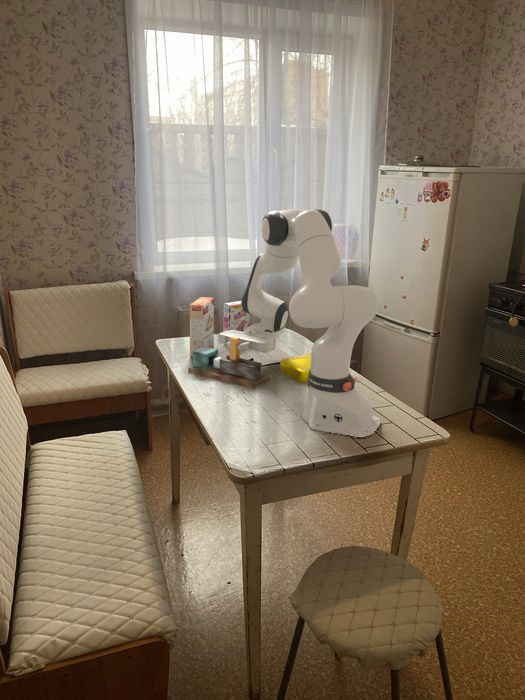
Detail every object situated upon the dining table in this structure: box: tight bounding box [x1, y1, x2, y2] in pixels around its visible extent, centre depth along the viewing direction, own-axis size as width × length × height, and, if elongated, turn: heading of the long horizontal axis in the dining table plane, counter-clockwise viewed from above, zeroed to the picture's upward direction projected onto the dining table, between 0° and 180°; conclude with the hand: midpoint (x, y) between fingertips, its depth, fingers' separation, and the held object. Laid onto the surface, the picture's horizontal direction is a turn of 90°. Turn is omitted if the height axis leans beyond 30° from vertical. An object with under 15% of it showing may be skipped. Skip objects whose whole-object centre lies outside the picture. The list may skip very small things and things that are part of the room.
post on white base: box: [214, 336, 246, 369], centre depth 181 cm, size 12×3×12 cm, turn 58°
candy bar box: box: [222, 300, 251, 332], centre depth 221 cm, size 11×5×16 cm, turn 129°
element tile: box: [279, 353, 311, 383], centre depth 188 cm, size 15×15×5 cm
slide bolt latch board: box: [187, 346, 271, 390], centre depth 183 cm, size 28×10×8 cm, turn 58°
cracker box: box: [189, 296, 215, 358], centre depth 204 cm, size 14×6×21 cm, turn 168°
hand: (233, 346), depth 178 cm, fingers closed on post on white base, 2 cm apart
